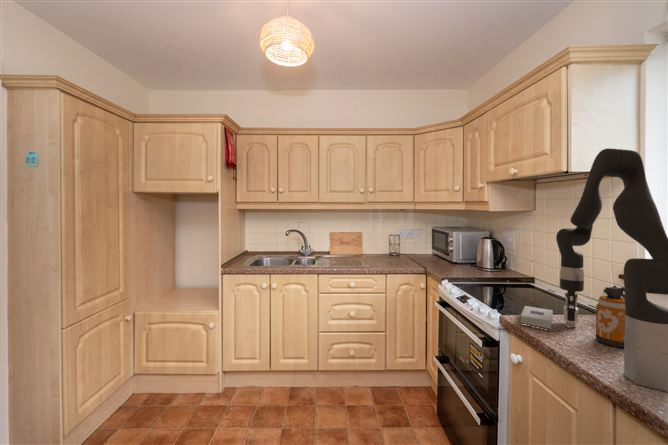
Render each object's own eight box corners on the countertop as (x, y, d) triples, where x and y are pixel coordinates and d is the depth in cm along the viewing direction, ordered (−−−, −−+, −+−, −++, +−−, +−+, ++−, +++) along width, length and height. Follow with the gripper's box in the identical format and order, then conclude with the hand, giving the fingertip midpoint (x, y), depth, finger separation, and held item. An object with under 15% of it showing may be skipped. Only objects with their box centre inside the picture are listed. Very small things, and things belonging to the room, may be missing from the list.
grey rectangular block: (550, 331, 114) (551, 320, 114) (520, 325, 121) (520, 315, 120) (552, 319, 127) (552, 310, 127) (524, 314, 133) (525, 305, 133)
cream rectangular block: (577, 329, 116) (578, 310, 116) (563, 326, 119) (563, 308, 119) (577, 325, 120) (577, 307, 119) (563, 323, 122) (563, 305, 122)
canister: (589, 340, 106) (590, 284, 106) (608, 335, 110) (609, 282, 110) (621, 350, 98) (622, 290, 97) (640, 345, 102) (641, 287, 101)
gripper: (584, 282, 111) (583, 325, 111) (583, 276, 122) (582, 314, 123) (559, 279, 115) (558, 320, 116) (560, 273, 127) (559, 311, 127)
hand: (570, 317), depth 119 cm, fingers open, 8 cm apart
